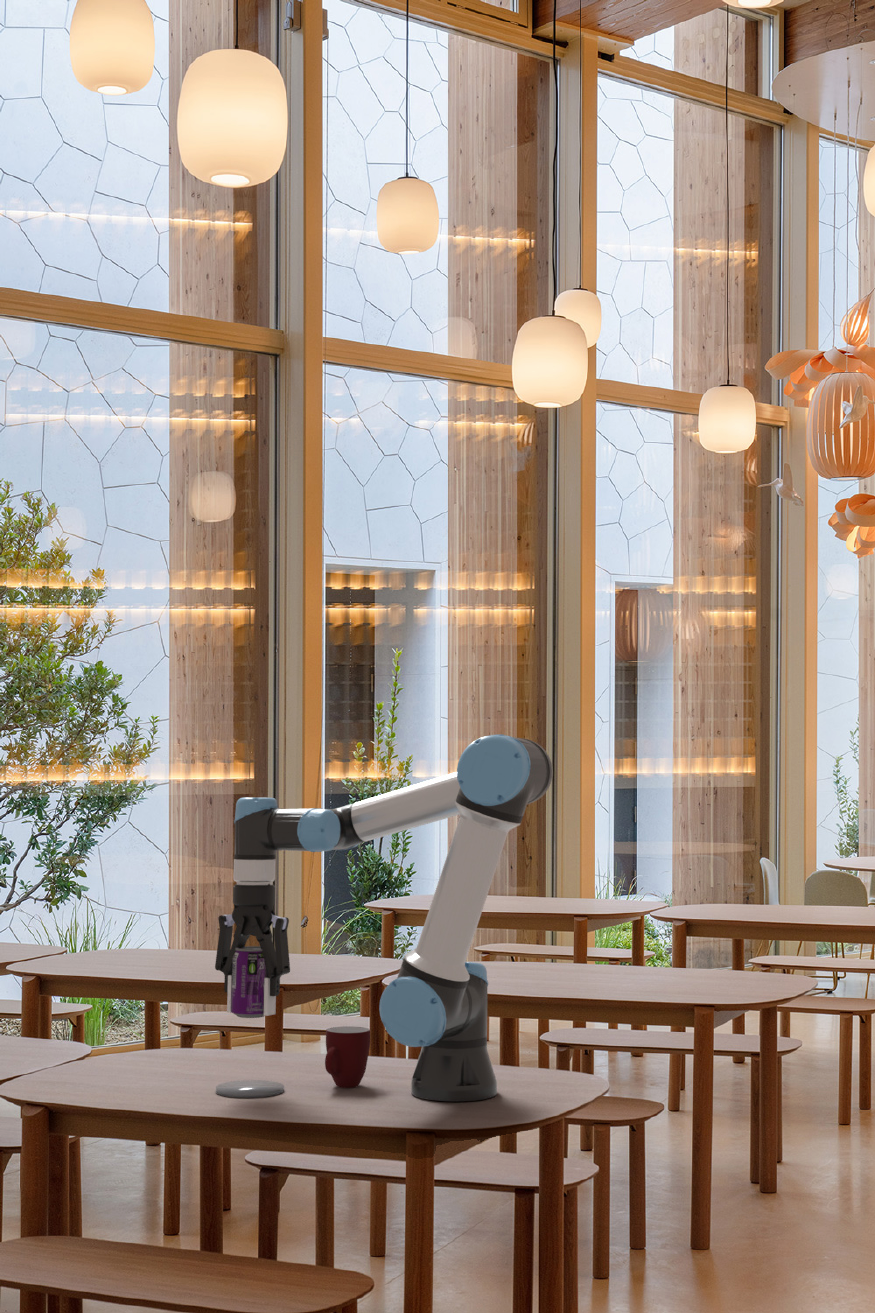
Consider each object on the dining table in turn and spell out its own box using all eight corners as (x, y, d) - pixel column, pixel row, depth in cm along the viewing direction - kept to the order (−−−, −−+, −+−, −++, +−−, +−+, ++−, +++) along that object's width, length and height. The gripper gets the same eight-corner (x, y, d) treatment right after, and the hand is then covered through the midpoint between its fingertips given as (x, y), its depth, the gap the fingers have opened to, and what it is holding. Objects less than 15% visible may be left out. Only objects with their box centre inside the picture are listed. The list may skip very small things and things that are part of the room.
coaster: (296, 1088, 250) (296, 1084, 251) (259, 1100, 240) (259, 1095, 240) (240, 1082, 256) (240, 1078, 256) (202, 1094, 245) (202, 1089, 245)
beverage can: (260, 1020, 245) (261, 950, 246) (224, 1017, 247) (225, 948, 248) (277, 1014, 251) (279, 946, 253) (242, 1012, 254) (243, 945, 255)
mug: (351, 1094, 246) (352, 1036, 247) (310, 1090, 249) (311, 1033, 250) (377, 1084, 255) (377, 1028, 256) (337, 1080, 258) (338, 1025, 259)
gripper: (312, 884, 251) (310, 1014, 248) (220, 880, 260) (217, 1006, 257) (290, 885, 244) (287, 1020, 242) (196, 882, 253) (192, 1011, 250)
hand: (251, 1013), depth 249 cm, fingers closed on beverage can, 7 cm apart
